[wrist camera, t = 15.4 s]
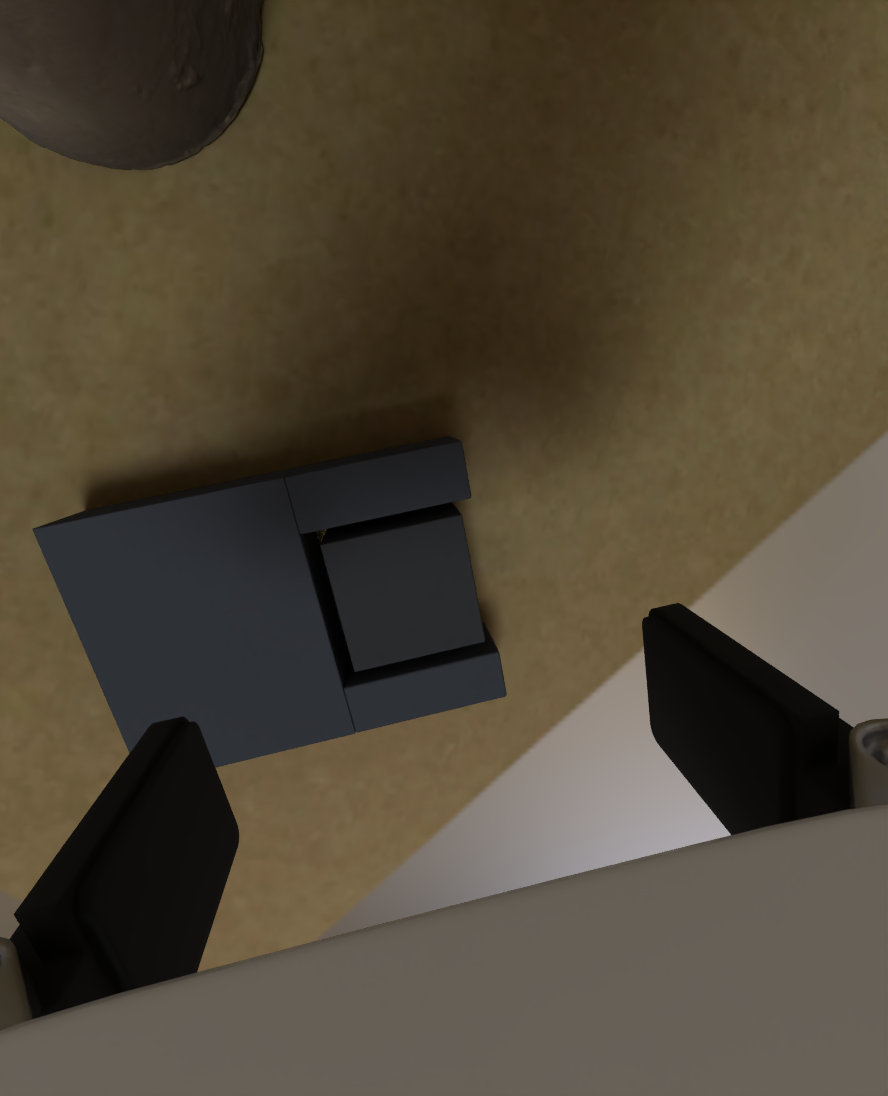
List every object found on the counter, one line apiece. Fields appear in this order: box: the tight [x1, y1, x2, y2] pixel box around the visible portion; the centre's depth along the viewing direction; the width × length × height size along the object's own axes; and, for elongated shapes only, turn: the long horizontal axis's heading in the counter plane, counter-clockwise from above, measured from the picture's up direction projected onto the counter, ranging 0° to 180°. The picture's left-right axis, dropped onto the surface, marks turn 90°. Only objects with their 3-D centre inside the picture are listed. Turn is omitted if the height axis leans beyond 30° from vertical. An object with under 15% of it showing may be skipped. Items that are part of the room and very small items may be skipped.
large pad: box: [33, 436, 507, 767], centre depth 19 cm, size 14×10×3 cm
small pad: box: [320, 502, 485, 672], centre depth 20 cm, size 5×5×3 cm
